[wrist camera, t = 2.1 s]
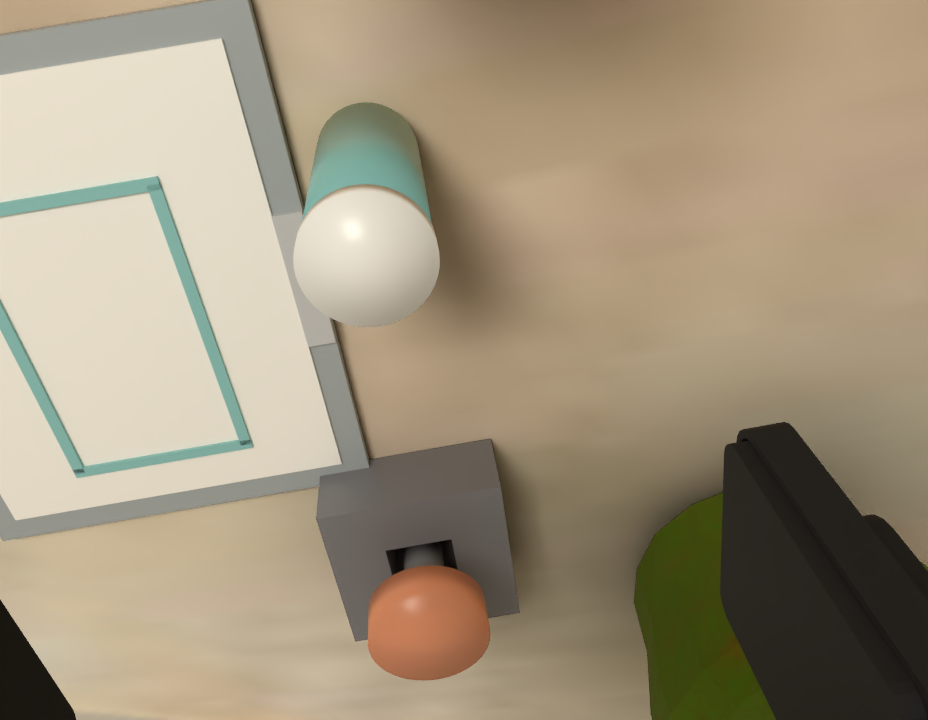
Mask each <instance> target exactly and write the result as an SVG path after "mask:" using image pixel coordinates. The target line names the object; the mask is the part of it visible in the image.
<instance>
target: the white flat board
mask: <svg viewBox="0 0 928 720" xmlns="http://www.w3.org/2000/svg"><path fill="white" fill-rule="evenodd" d="M303 213H304V205H303V201H302V198H301V194H300V190H299V186H298V182H297V178H296V174H295V171H294V167H293V163H292V159H291V155H290V151H289V147H288V143H287V140H286V136H285V132H284V128H283V124H282V120H281V116H280V112H279V109H278V105H277V101H276V97H275V93H274V89H273V85H272V82H271V78H270V74H269V70H268V66H267V62H266V58H265V54H264V51H263V47H262V43H261V39H260V35H259V31H258V27H257V23H256V20H255V16H254V12H253V8H252V4H251V0H205V1H199V2H193V3H187V4H181V5H175V6H169V7H163V8H157V9H151V10H145V11H139V12H133V13H127V14H121V15H115V16H109V17H103V18H96V19H90V20H84V21H78V22H72V23H66V24H60V25H54V26H48V27H42V28H36V29H30V30H24V31H18V32H12V33H6V34H0V537H1V539H2V541H6V540H12V539H18V538H23V537H29V536H35V535H41V534H46V533H52V532H58V531H64V530H69V529H75V528H81V527H87V526H93V525H98V524H104V523H110V522H116V521H121V520H127V519H133V518H139V517H144V516H150V515H156V514H162V513H167V512H173V511H179V510H185V509H190V508H196V507H202V506H208V505H214V504H219V503H225V502H231V501H237V500H242V499H248V498H254V497H260V496H265V495H271V494H277V493H283V492H288V491H294V490H300V489H306V488H311V487H317V486H319V481H320V476H323V475H329V474H335V473H341V472H346V471H352V470H358V469H364V468H369V457H368V453H367V449H366V445H365V441H364V437H363V434H362V430H361V426H360V422H359V418H358V414H357V410H356V407H355V403H354V399H353V395H352V391H351V387H350V383H349V379H348V376H347V372H346V368H345V364H344V360H343V356H342V352H341V348H340V345H339V341H338V337H337V333H336V329H335V325H334V321H333V319H332V318H330V317H328V316H326V315H325V314H323V313H322V312H320V311H319V310H318V309H317V308H316V307H314V306H313V305H312V303H311V302H310V301H309V300H308V299H307V298H306V296H305V295H304V293H303V292H302V290H301V288H300V286H299V284H298V282H297V279H296V276H295V271H294V264H293V254H294V246H295V242H296V237H297V233H298V229H299V227H300V224H301V222H302V218H303Z"/></svg>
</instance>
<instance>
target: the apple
mask: <svg viewBox="0 0 928 720" xmlns="http://www.w3.org/2000/svg"><path fill="white" fill-rule="evenodd" d="M722 510H723V493H721V494H718V495H716V496H713V497H710V498H708V499H705V500H703V501H700V502H697V503H695V504H692V505H691V506H690V507H689V508H687V509H686V510H685V511H684V512H682V513H681V514H680V515H679V516H677V517H676V518H675V519H674V520H672V521H671V522H670V523H669V524H667V525H666V526H665V527H664V528H662V529H661V530H660V531H659V532H657V533H656V534H655V535H654V537H653V539H652V541H651V543H650V545H649V547H648V549H647V551H646V553H645V555H644V556H643V558H642V560H641V562H640V564H639V566H638V568H637V572H636V584H635V595H634V604H635V608H636V612H637V615H638V619H639V623H640V627H641V631H642V634H643V638H644V642H645V646H646V650H647V657H648V674H649V691H650V708H651V716H652V720H776V718H775V716H774V714H773V712H772V710H771V708H770V706H769V704H768V702H767V700H766V698H765V696H764V694H763V692H762V689H761V687H760V685H759V683H758V681H757V679H756V677H755V675H754V673H753V671H752V669H751V667H750V665H749V663H748V661H747V659H746V657H745V655H744V652H743V650H742V648H741V646H740V644H739V642H738V640H737V638H736V636H735V634H734V632H733V630H732V628H731V626H730V624H729V622H728V619H727V617H726V615H725V612H724V609H723V605H722V601H721V595H720V574H721V542H722ZM921 564H922V565H923V566H924V567H925V569H926V570H927V571H928V567H927V566H926V565H925V564H923V563H922V562H921Z"/></svg>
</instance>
